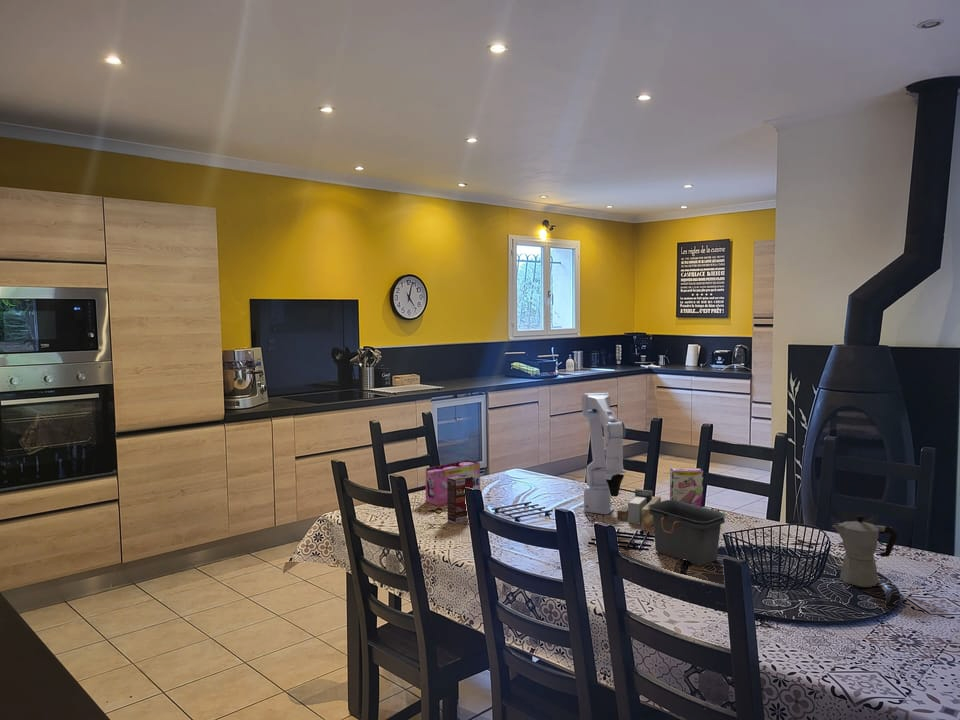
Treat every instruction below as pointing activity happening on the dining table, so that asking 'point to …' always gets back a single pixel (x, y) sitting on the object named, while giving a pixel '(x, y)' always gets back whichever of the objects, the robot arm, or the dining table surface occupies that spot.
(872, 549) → the coffeepot
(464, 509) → the supplement box
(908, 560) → the dining table surface
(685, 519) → the storage bin
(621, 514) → the walnut block
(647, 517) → the shelf wall
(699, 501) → the candy bar box
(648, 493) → the bookend
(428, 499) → the gum box
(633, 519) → the boxed book
